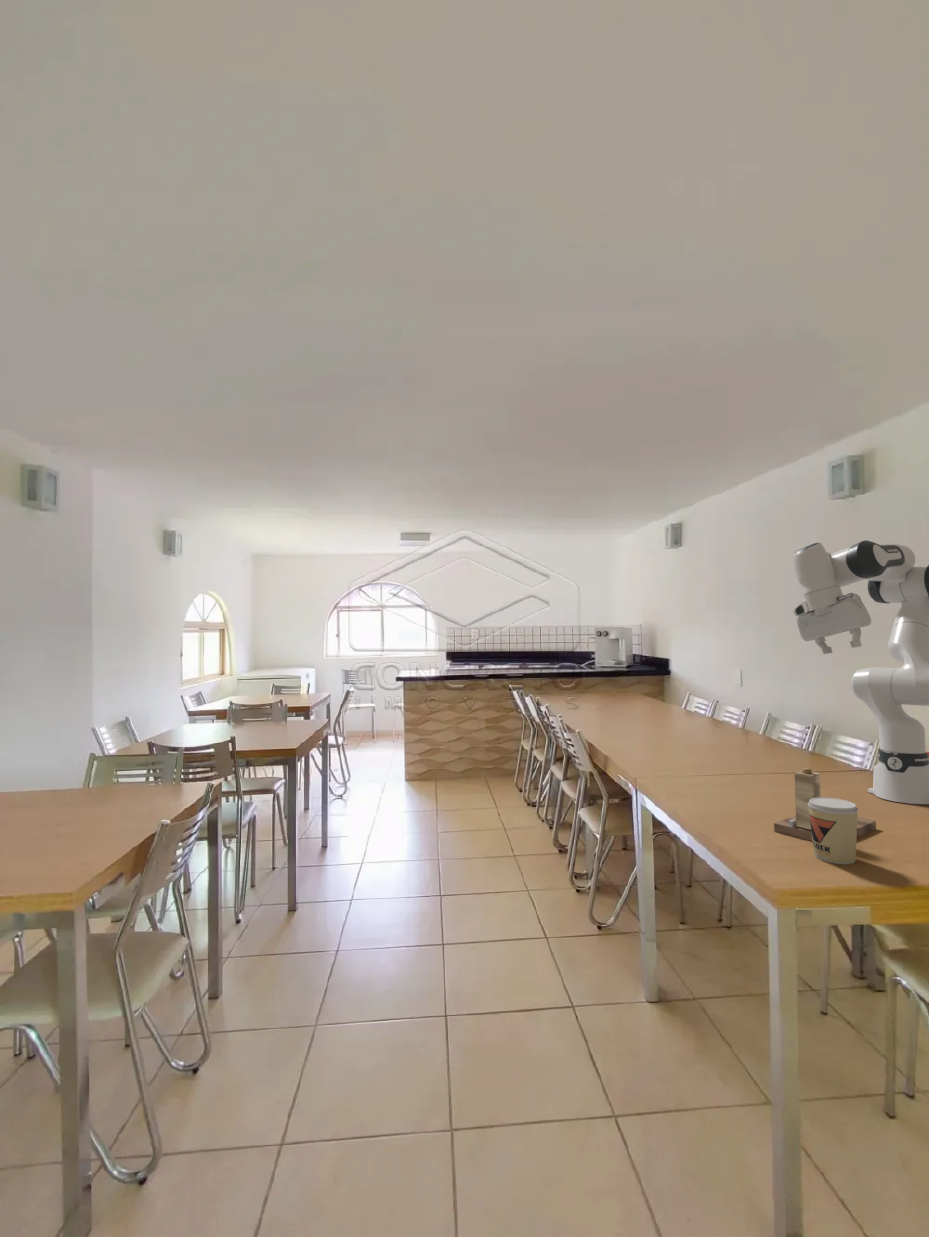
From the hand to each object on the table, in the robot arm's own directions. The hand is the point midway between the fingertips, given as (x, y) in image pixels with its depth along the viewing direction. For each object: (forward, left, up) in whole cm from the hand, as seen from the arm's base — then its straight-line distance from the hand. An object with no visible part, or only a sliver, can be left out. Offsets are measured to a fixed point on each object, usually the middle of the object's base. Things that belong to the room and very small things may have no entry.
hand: (842, 650), depth 156 cm
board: (+13, 0, -45) cm, 47 cm away
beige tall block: (+21, +1, -43) cm, 48 cm away
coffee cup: (+31, +10, -45) cm, 56 cm away
